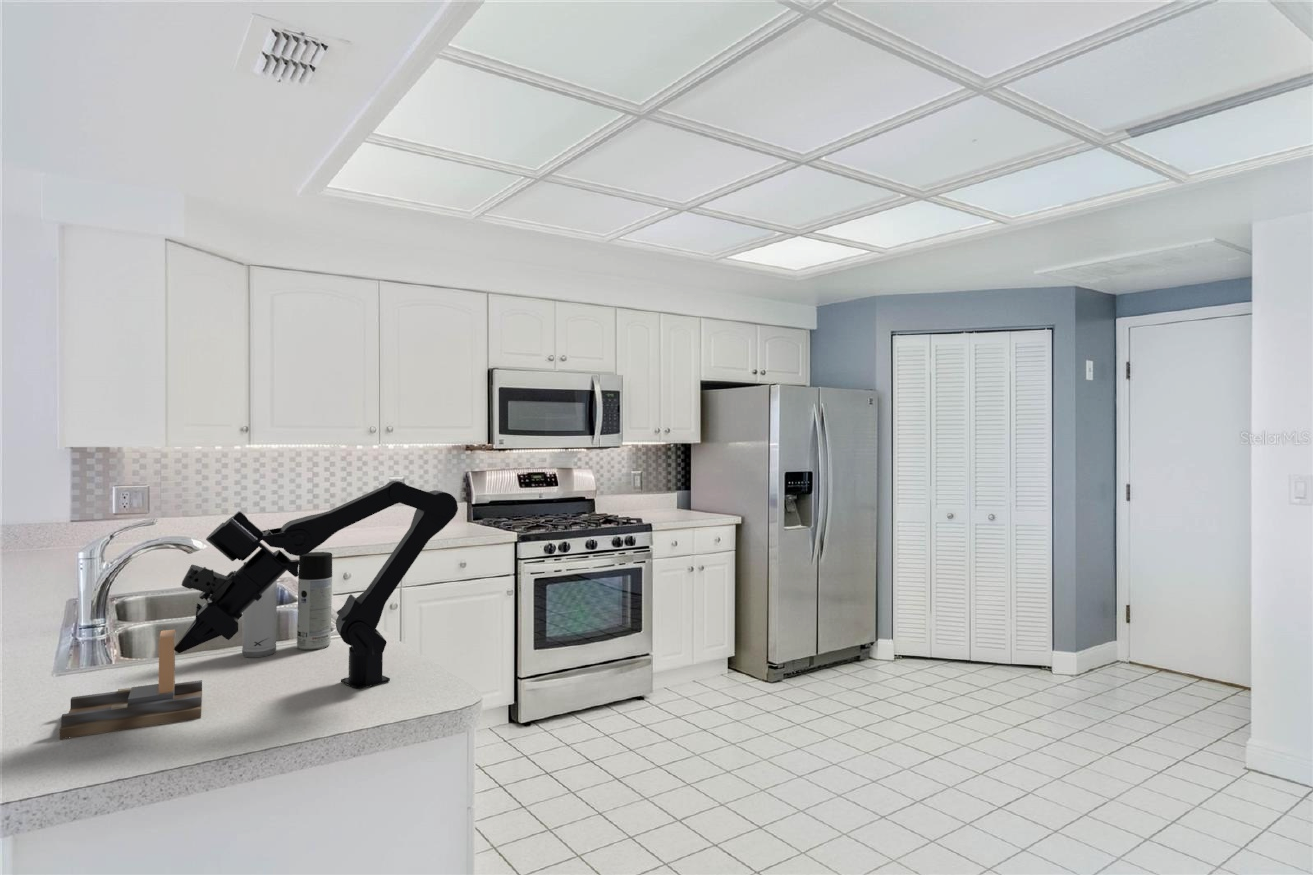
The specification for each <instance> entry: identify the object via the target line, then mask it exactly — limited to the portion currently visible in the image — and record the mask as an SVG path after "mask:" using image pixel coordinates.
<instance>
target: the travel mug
mask: <svg viewBox="0 0 1313 875" xmlns="http://www.w3.org/2000/svg"><path fill="white" fill-rule="evenodd" d="M246 562H247V561H245V562H244V561H243V565H244V564H245V563H246ZM277 590H278V579H277V580H276V581H275V582H274V583H273V584H272V585H271V586H270V587H269V588H268V589H267V590H266V591H265V592H264V593H262V597H261V598H260V599H259V600H258V601H257V600H255V601H254V602H253V603H252V604H251V605H250V606H249V607H248V608H247V609H246V610H245V611H244V612H243V613H242V615H243V616H242V632H241V633H242V642H241V644H242V646H241V647H242V648H241V651H242V654H241V655H242V656H243V657H245V658H250V659H251V658H263V657H267V656H271V655H274V654H275V653H276V652H277V612H278V611H277V610H278V609H277V608H278V607H277V602H278V600H277V598H278V596H277V594H278V591H277Z"/></svg>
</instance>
